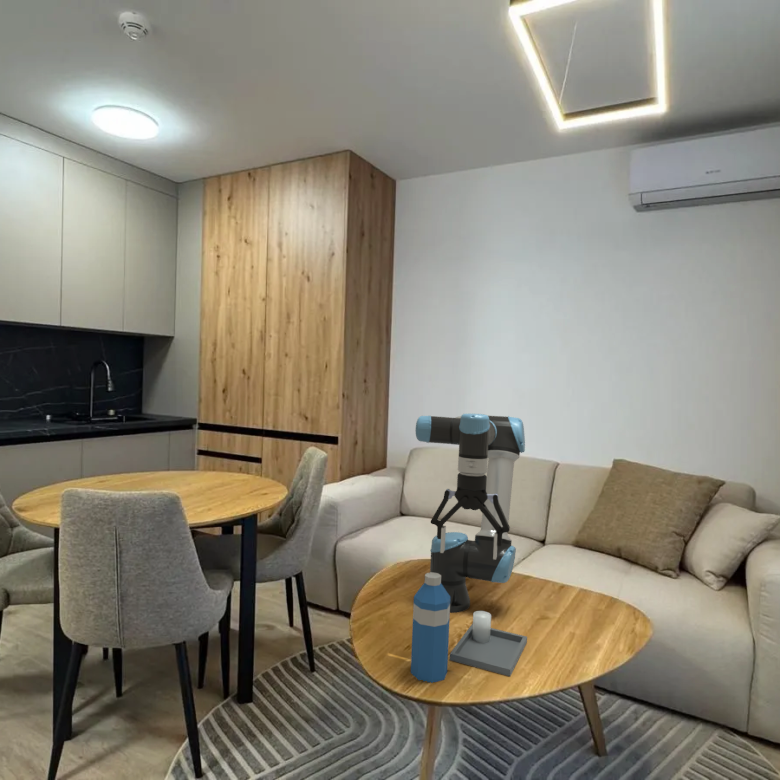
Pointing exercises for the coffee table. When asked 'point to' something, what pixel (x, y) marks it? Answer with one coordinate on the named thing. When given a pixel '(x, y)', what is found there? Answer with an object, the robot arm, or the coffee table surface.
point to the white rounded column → (481, 626)
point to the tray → (490, 651)
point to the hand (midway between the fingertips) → (468, 554)
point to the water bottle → (430, 630)
